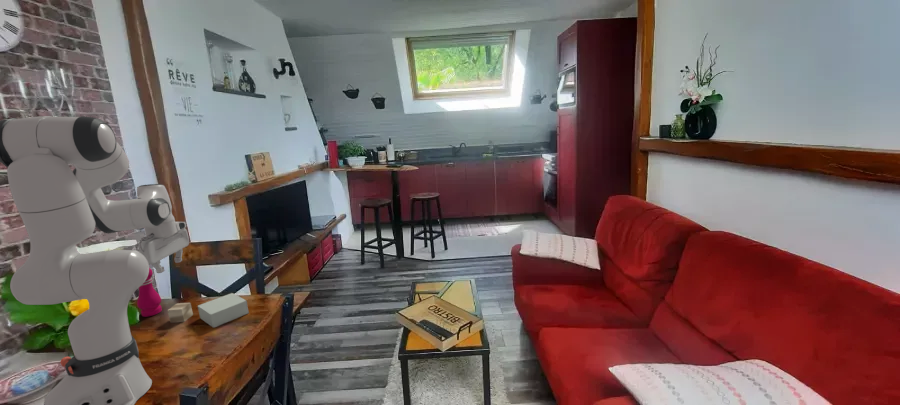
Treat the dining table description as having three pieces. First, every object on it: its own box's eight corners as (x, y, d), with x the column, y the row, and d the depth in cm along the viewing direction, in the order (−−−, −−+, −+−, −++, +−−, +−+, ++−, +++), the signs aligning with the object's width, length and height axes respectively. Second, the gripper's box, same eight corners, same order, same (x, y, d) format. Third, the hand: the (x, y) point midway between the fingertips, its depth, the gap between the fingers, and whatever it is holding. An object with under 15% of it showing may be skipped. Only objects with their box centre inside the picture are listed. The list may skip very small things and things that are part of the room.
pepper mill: (154, 317, 144) (141, 266, 140) (135, 318, 144) (122, 267, 140) (168, 307, 151) (156, 259, 147) (150, 308, 151) (138, 260, 147)
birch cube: (184, 321, 139) (181, 309, 138) (170, 322, 139) (167, 310, 138) (193, 314, 144) (190, 302, 143) (179, 315, 144) (176, 303, 143)
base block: (213, 327, 133) (210, 314, 132) (200, 318, 141) (197, 305, 140) (248, 313, 142) (246, 300, 141) (234, 304, 150) (232, 292, 149)
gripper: (148, 238, 124) (158, 278, 127) (188, 221, 144) (196, 256, 147) (128, 240, 124) (139, 279, 127) (171, 222, 144) (179, 257, 147)
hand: (170, 267), depth 137 cm, fingers open, 8 cm apart
